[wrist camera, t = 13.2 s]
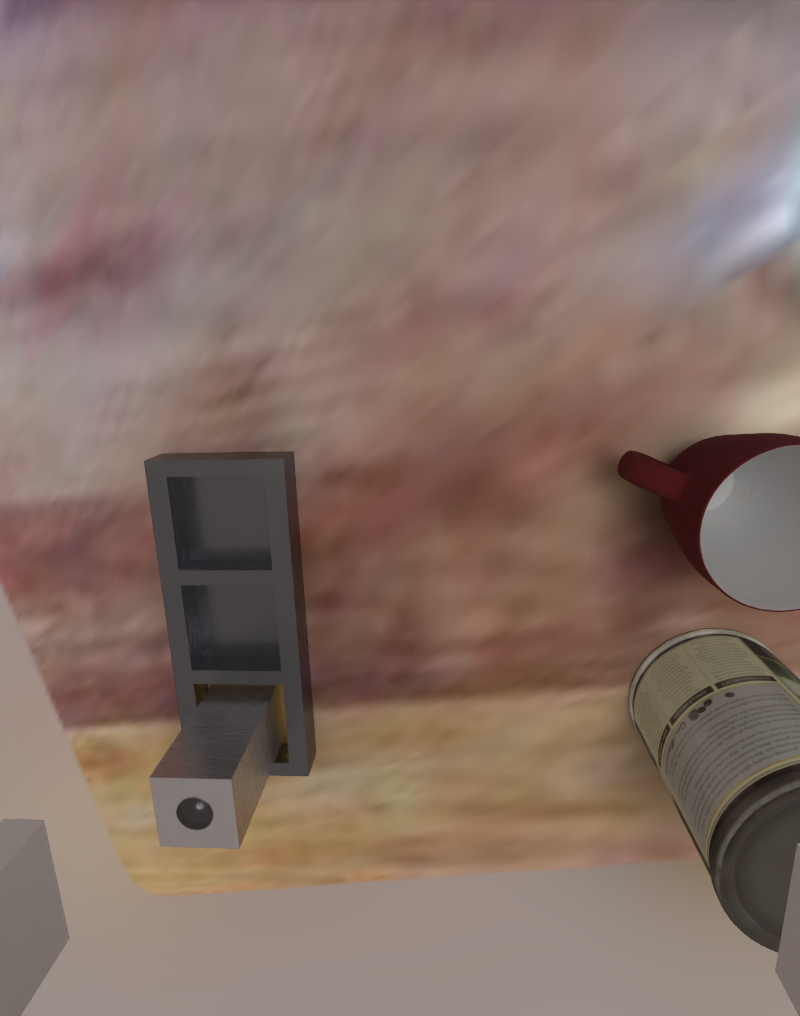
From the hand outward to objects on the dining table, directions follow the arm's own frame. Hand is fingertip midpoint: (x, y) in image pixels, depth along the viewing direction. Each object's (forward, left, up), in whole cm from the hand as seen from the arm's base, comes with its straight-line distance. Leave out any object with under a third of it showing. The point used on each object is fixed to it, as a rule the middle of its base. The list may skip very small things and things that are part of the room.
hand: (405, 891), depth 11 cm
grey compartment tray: (+8, -13, -29) cm, 33 cm away
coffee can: (+14, +18, -29) cm, 37 cm away
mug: (-1, +15, -29) cm, 33 cm away
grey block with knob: (+15, -13, -28) cm, 34 cm away
